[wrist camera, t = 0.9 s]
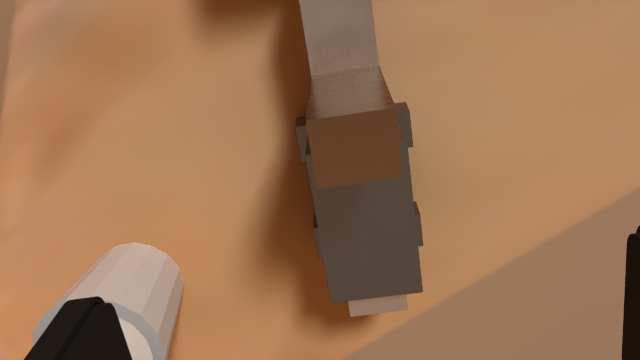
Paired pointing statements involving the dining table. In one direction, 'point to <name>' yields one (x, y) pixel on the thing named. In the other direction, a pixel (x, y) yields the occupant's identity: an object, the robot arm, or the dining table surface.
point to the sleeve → (368, 228)
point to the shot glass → (132, 297)
